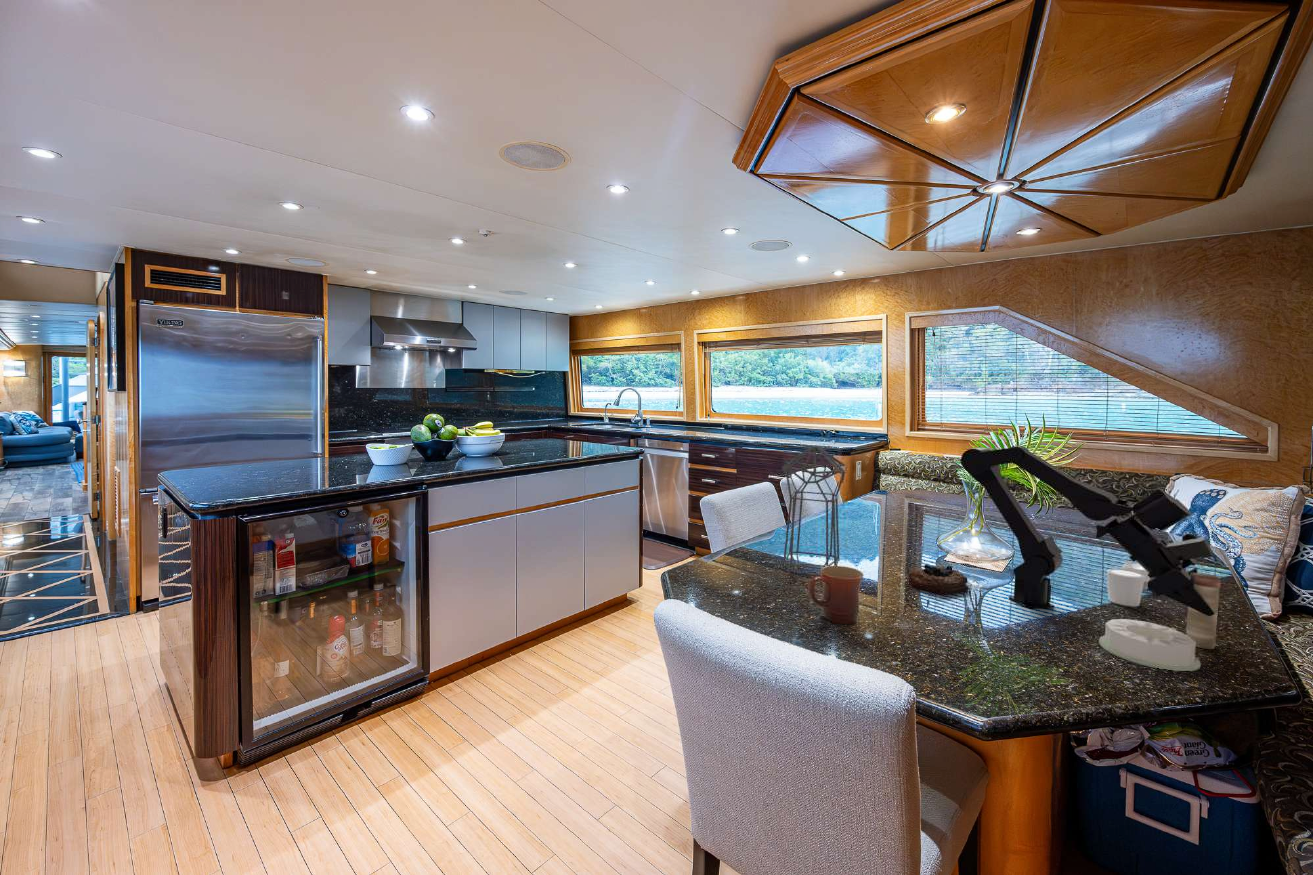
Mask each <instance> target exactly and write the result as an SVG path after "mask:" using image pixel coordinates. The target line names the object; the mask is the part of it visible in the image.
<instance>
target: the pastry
mask: <svg viewBox="0 0 1313 875" xmlns="http://www.w3.org/2000/svg"><path fill="white" fill-rule="evenodd" d="M923 567H924V568H916V569H915V568H914V569H912V570H910V571H909V573H908V579H909V580H908V584H909V585H911V586H912V587H914V588H916V589H918V590H921V591H924V592H927V593H929V594H933V595H937V596H939V595H940V597H943V596H944V595H946V596H952V595H958V594H957V593H959V594H963V593H965V592H966V594H967V593H968V592H969V586H968V585H967V583H968V577H967V576H966V575H964V574H963V573H962V572H960V570H958V569H953V565H946V567H945V566H943V565H940V564H938V565H930V564H929V563H927V564H924V565H923Z"/></svg>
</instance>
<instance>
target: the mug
mask: <svg viewBox="0 0 1313 875" xmlns="http://www.w3.org/2000/svg"><path fill="white" fill-rule="evenodd" d="M819 572H820V573H819V574H821V576H817V575H816V576H813V577H812V578H810V579H809V580H808V581H809V582H808V586H807V587H808V588H807V590H808V595H809V597H810V600H811V602H813V603H814V604H816V605H818V606H820V607H821V609H822V610H821V611H822V615H823V617H824V618H825V619H826V620H827V621H829V622H831V623H834V624H839V625H850V624H853V623H855V622H857V620H858V617H859V612H860V586H861V583H862V580H863V578H864V573H863V572H862V571H860V570H858V569H857V568H853V567H850V566H841V565H837V566H834V565H831V566H827V567H821V569H819ZM819 581H820V582H823V583H822V586H823V587H822V599H817V598H816V592H815V585H816V584H817V583H816V582H819Z"/></svg>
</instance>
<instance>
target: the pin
mask: <svg viewBox="0 0 1313 875" xmlns="http://www.w3.org/2000/svg"><path fill="white" fill-rule="evenodd" d="M1192 576H1195V581H1194V587H1195V589H1196V590H1197V591H1198V592H1199V594H1200V595H1201V596H1202V597H1203V599H1204V600H1205V601H1206V602H1207V604H1208V605H1209V606H1210V607H1211V609H1212V610H1213V611H1214V613H1215V614H1214V615H1212V616H1207V615H1205V614H1203V613H1201V612H1199V611H1197V610H1195V609H1193V608H1190V607H1188V606H1187V618H1186V630H1185V631H1186V632H1185V634H1186V635H1188V636H1189V637H1190V638H1191V639H1193V640H1194V641H1195V642H1196V645H1195V648H1196V647H1197V648H1201V649H1207V650H1213V649H1215V647H1216V646H1215V645H1216V634H1217V624H1218V623H1217V621H1218V611H1219V610H1218V609H1219V602H1220V601H1219V599H1220V588H1221V581H1222V580H1221V577H1219V576H1217V575H1213V574H1209V573H1208V574H1207V573H1202V572H1197V573H1191V574H1190V577H1192Z"/></svg>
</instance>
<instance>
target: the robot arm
mask: <svg viewBox="0 0 1313 875" xmlns="http://www.w3.org/2000/svg"><path fill="white" fill-rule="evenodd" d="M960 464H961V466H962V468H963V469H964V470H965V471H966V472H967V473H968V475H970V477H972V478H973V479H974V480H975V481H976V482H978V483H979V484H980V485H981V486H982V487H983V488H984V489H985V492H986V493H987V495H988V496H989V497H990V499H991V501H992V502H993V504H994V505H995V507H996V508H997V510H998V511H999V514H1001V516H1002V518H1003V519H1004V521H1005V522H1006V523H1007V524H1006V525H1008V527H1009V529H1010V530H1011V532H1012V533H1013V535H1014V536H1015V538H1016V540H1017V544H1018V546H1019V551H1020V555H1021V558H1022V560H1023V562H1022V563H1020V564H1019V565H1018V566H1016V567H1015V568H1013V569H1012V571H1013V575H1014V587H1013V588H1014V589H1013V590H1014V591H1013V595H1009V596H1008V599H1009V600H1011V601H1013V602H1016V603H1017V604H1019V605H1021V606H1024V607H1025V608H1027V609H1046V608H1047V609H1050V608H1051V609H1052V608H1055V605H1054V604H1053V603H1051V602H1052V601H1051V599H1052V598H1051V597H1052V596H1051V595H1052V584H1051V578H1048V577H1049V576H1050V575H1051V574H1053V573H1055V572H1056V571H1057V570H1058V569H1059V568H1060V567H1061V566H1062V564H1063V561H1064V560H1063V556H1062V554H1061V553H1063V552H1064V551H1063V549H1061V548H1060V547H1059V546H1058V545H1057V543H1056V541H1055V539H1054V537H1053V536H1052V535H1049V536H1047V537H1044V535H1042V534H1041V533H1040V532H1039V531H1038V530H1037V528H1036V527H1035V526H1034V524H1033V523H1032V521H1031V519H1030V518H1029V517H1028V515H1027V514H1026V512H1025V511H1024V509H1023V508H1022V506H1021V505H1020V503H1019V501H1018V500H1017V499H1016V497H1015V495H1014V494H1013V492H1012V491H1011V490H1010V487H1009V486H1008V485H1007V483H1006V482H1005V480H1004V479H1003V476H1002V472H1001V467H1000V465H1006V464H1013V465H1016V466H1018V467H1019V468H1020V469H1022V470H1024V471H1025V472H1027V473H1028V474H1030V475H1031V476H1033V477H1035V478H1036V479H1038V480H1039V481H1041V482H1043V483H1044V484H1046V485H1047V486H1048V487H1051V488H1052V489H1054V490H1055V491H1056V492H1058V493H1060V494H1061V495H1062V496H1064V497H1065V498H1066V499H1067V500H1068V501H1069V503H1071V505H1072V506H1073V507H1075V509H1077V510H1078V511H1079V512H1080V513H1081V514H1082V515H1083V516H1084V517H1086V518H1087V519H1089V520H1091V521H1095V522H1099V521H1101V522H1102V521H1106V520H1109V519H1110V518H1112V517H1115V518H1114V519H1112V520H1110V521H1109V522H1107V523H1105V524H1101V523H1098V524H1096V525H1095V528H1096V535H1095V538H1097V539H1100V538H1103V537H1104V536H1106V535H1107V534H1108V536H1109V537H1111V538H1112V539H1113V540H1114V541H1115V542H1116V543H1117V544H1118V545H1119V546H1120V547H1121V548H1122V550H1124V551H1125V552H1126V553H1127V554H1128V555H1129V557H1128V558H1129V559H1130V560H1131V561H1132V562H1136V563H1137V564H1140V565H1141V566H1142V567H1143V568H1144V569H1145V570H1146V571H1147V572H1148V574H1147V575H1148V576H1149V577H1150V580H1149V581H1148V589H1147V590H1149V592H1150V593H1151V594H1152V595H1153V596H1154V597H1155V598H1157V597H1160V596H1161V595H1162V596H1163V597H1166V598H1169V599H1171V600H1174V601H1176V602H1178V603H1180V604H1182V605H1184V606H1187V608H1188V607H1190V608H1193V609H1195V610H1197V611H1199V612H1201V613H1203V614H1205V615H1207V616H1212V615H1214V614H1215V613H1214V611H1213V610H1212V609H1211V607H1210V606H1209V605H1208V604H1207V602H1206V601H1205V600H1204V599H1203V597H1202V596H1201V595H1200V594H1199V592H1198V591H1197V590H1196V589H1195V587H1194V581H1195V576H1192V577H1190V574H1191V573H1199V572H1198V571H1199V569H1198V567H1195V568H1192V569H1190V570H1189V569H1188V567H1190V566H1193V567H1194V566H1196V565H1197V564H1198V561H1197V560H1196V559H1200V558H1201V559H1207V558H1212V557H1213V556H1214V551H1213V549H1212V548H1211V546H1210V543H1209V541H1208V540H1207V538H1206V537H1205V536H1200V537H1199V536H1198V535H1196V534H1195V533H1193V532H1189V533H1184V534H1182V537H1181V540H1177V541H1175V542H1171V543H1168V541H1167V540H1165V539H1164V538H1162V539H1161V538H1158V537H1156V536H1155V535H1154V534H1153V533H1152V532H1151V531H1155V530H1159V531H1160V532H1164V531H1165V530H1167V529H1169V528H1171V527H1172V526H1175V525H1176V524H1178V523H1180V522H1182V521H1183V520H1185V519H1187V518H1189V517H1190V516H1192V514H1193V513H1192V512H1191V510H1189V508H1187V507H1186V506H1185V505H1184V504H1183V503H1182V502H1181V501H1180V500H1179V499H1178V498H1175V497H1174V496H1172V495H1170V494H1169V493H1167V492H1166V491H1165V490H1163V489H1162V488H1160V487H1159V488H1157V489H1155V490H1153V491H1152V492H1151V493H1150V494H1149V495H1148V496H1145V497H1144V498H1142V499H1141V500H1139V501H1137V502H1134V501H1130V500H1125V499H1122V498H1121V499H1120V498H1118V497H1117V496H1115V495H1114V494H1113V493H1112V492H1108V491H1107V490H1103V489H1102V488H1099V487H1098V486H1094V485H1092V484H1089V483H1085V482H1082V481H1080V480H1078V479H1076V478H1074V477H1072V476H1071V475H1069V474H1068V473H1066V472H1065V471H1063V470H1061V469H1060V468H1058V467H1056V466H1055V465H1053V464H1051V463H1050V462H1048V461H1046V460H1045V459H1044V458H1041V457H1040V456H1039V455H1036V454H1035V453H1034V452H1032V451H1030V449H1028V448H1027V447H1026V446H1023V445H1013V446H1011V447H1006V448H998V449H993V450H991V449H990V448H987V447H974V448H969V449H966V450H965V451H964V452H963V453H962V455H961V457H960ZM1131 512H1134V513H1133V514H1132V515H1130V516H1128V517H1126V518H1125V519H1122V518H1120V517H1124V516H1126V515H1128V514H1129V513H1131ZM1143 524H1144V525H1143ZM1149 529H1150V530H1151V531H1150V530H1149Z"/></svg>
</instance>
